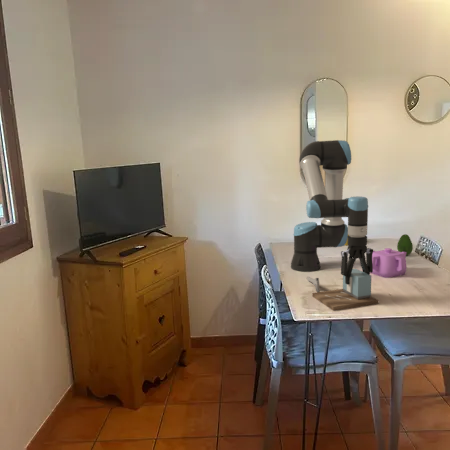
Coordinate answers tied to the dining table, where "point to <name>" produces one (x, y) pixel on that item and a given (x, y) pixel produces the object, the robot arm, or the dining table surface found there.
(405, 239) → the avocado
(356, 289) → the block
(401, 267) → the pink lidded pot
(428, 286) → the dining table surface
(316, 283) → the caliper
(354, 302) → the board
